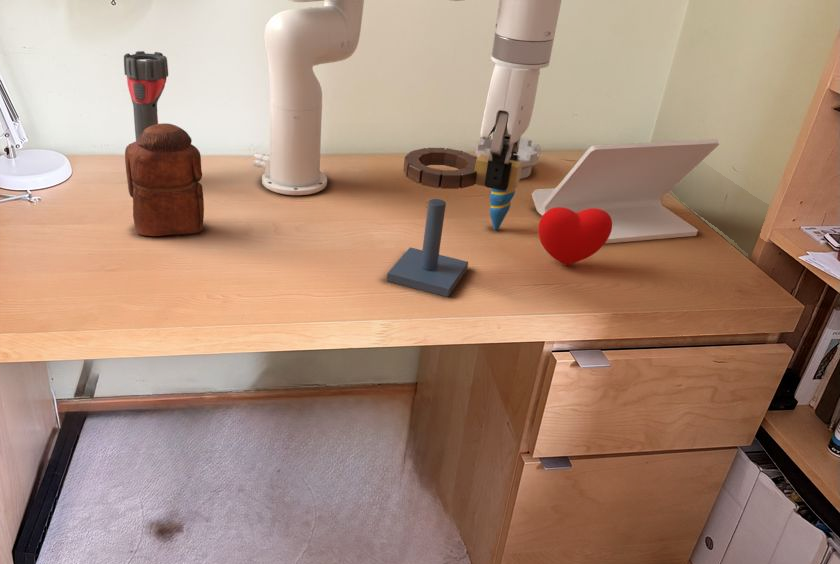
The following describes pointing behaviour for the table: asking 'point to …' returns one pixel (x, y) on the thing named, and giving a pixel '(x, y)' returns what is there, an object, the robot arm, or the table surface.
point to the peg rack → (429, 259)
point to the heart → (574, 233)
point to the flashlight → (145, 86)
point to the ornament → (499, 205)
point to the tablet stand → (629, 186)
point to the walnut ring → (465, 176)
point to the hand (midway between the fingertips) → (498, 183)
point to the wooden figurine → (165, 182)
